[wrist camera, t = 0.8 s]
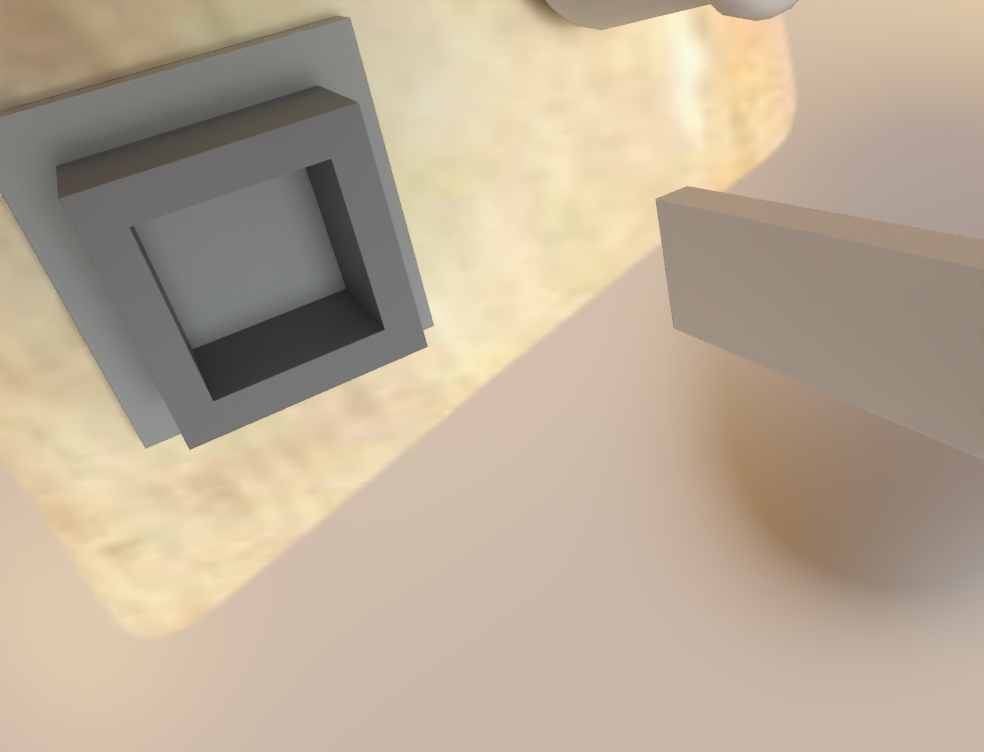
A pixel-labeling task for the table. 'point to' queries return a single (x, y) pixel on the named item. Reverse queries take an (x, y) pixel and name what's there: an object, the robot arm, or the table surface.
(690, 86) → the table surface
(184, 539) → the table surface
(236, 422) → the socket board
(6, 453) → the table surface
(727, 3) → the salt shaker
